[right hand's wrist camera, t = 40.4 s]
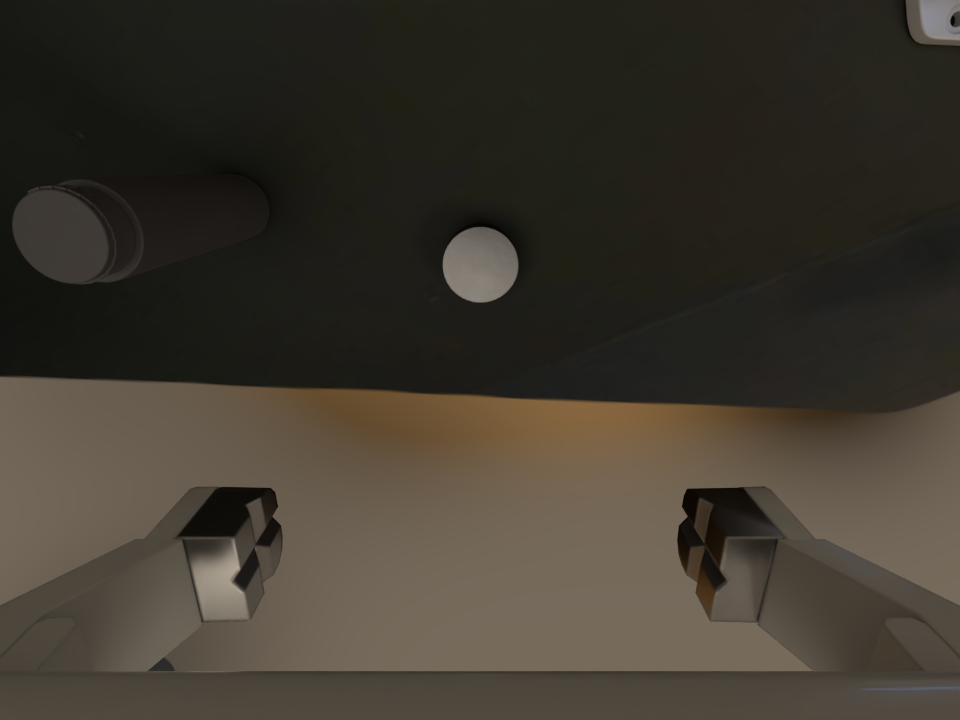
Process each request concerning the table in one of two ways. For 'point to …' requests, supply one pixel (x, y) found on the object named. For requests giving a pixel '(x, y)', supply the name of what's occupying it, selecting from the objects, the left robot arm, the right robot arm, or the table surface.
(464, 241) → the lid
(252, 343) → the table surface
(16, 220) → the dark grey cylinder
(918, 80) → the table surface
